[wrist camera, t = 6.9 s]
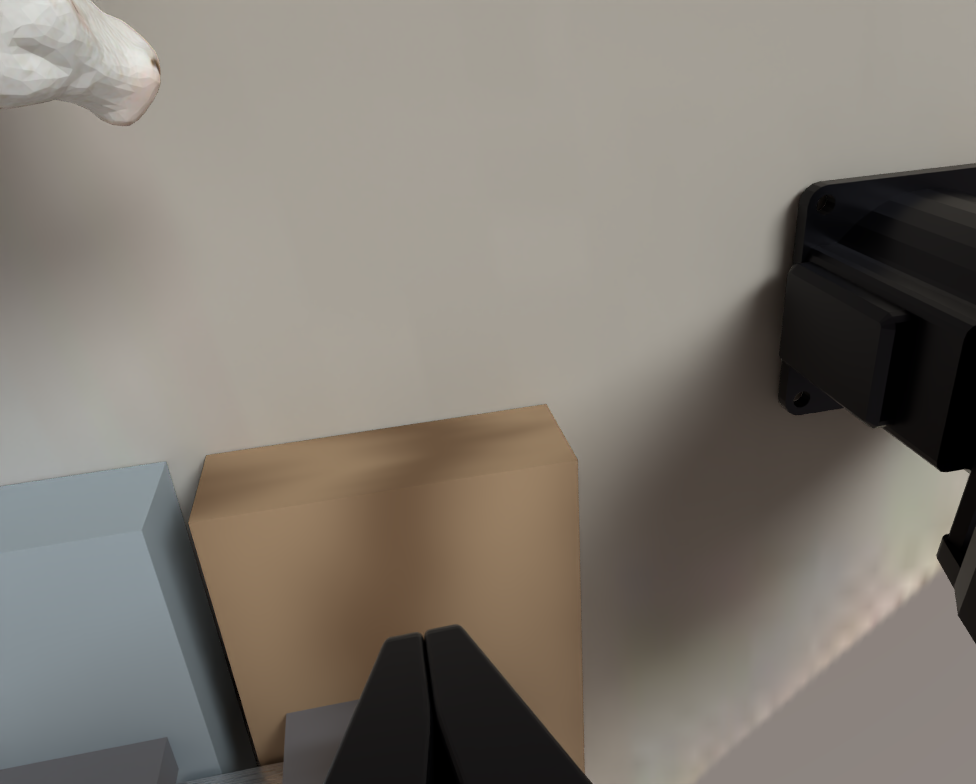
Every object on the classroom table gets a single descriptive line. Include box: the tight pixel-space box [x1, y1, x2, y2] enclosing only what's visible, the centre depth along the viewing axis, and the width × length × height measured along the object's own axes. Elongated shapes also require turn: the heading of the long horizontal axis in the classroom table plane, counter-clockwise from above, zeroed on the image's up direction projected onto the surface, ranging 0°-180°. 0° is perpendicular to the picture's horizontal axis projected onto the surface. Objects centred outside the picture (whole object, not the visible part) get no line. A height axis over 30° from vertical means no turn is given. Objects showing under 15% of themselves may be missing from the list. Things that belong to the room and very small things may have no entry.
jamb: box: [188, 404, 585, 784], centre depth 22 cm, size 9×18×5 cm, turn 4°
